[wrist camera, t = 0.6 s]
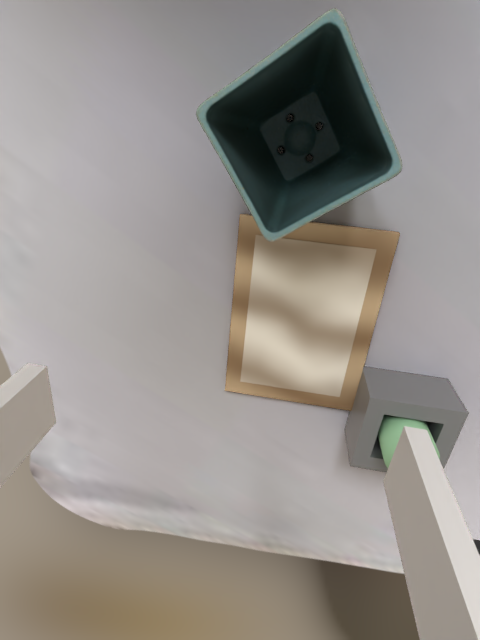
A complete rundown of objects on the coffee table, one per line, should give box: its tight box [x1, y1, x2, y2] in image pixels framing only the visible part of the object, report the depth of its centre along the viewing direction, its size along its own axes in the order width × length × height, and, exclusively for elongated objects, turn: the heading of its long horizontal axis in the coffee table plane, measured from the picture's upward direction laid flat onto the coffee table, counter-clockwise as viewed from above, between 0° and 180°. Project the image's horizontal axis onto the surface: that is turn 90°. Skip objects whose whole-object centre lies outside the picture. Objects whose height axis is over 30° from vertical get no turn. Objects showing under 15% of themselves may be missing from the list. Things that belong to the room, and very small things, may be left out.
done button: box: [377, 415, 440, 468], centre depth 34 cm, size 4×4×5 cm
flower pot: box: [196, 8, 402, 242], centre depth 25 cm, size 9×9×9 cm
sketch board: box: [225, 214, 400, 411], centre depth 35 cm, size 18×13×1 cm
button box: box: [345, 366, 469, 472], centre depth 36 cm, size 8×8×5 cm
